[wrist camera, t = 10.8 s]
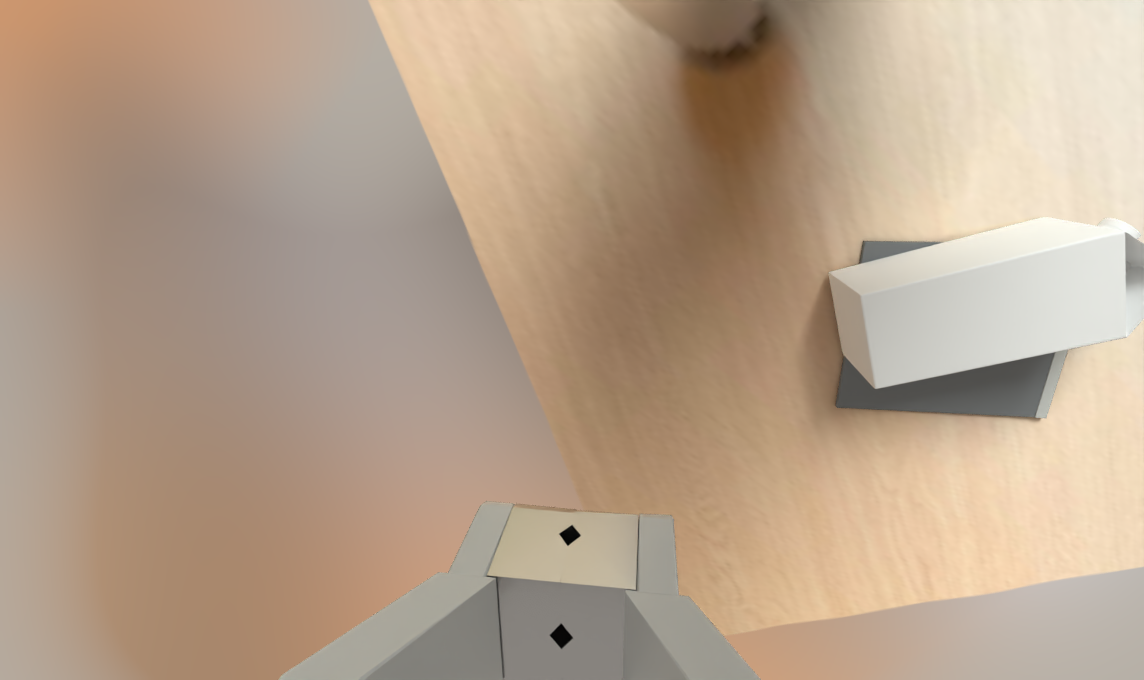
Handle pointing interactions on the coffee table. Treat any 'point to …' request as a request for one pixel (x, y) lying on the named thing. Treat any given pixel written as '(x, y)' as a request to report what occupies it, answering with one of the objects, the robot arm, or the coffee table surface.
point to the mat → (956, 376)
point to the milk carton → (990, 299)
